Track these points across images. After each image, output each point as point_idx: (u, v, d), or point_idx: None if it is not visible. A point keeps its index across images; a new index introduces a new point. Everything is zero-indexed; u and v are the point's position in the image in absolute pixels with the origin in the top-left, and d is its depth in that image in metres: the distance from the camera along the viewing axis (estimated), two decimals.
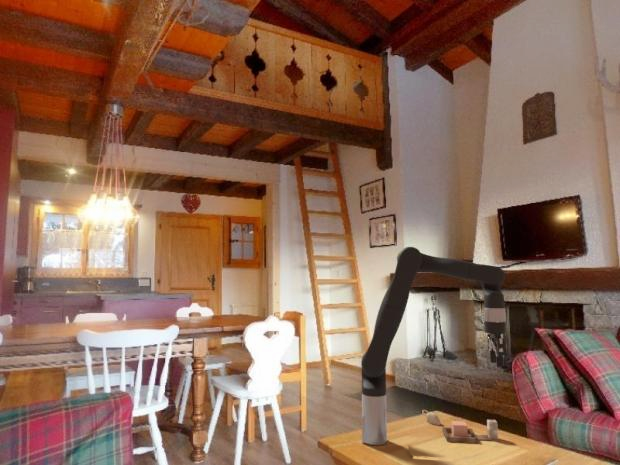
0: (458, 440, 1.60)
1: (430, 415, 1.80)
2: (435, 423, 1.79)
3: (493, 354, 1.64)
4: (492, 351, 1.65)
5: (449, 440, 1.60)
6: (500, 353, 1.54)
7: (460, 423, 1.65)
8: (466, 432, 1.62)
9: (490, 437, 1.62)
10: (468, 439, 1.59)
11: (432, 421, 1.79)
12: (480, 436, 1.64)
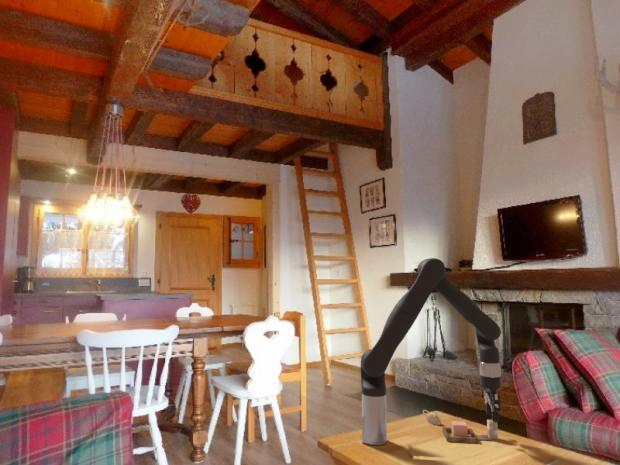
0: (458, 440, 1.60)
1: (431, 415, 1.80)
2: (436, 423, 1.79)
3: (489, 406, 1.68)
4: (488, 403, 1.68)
5: (449, 440, 1.60)
6: (495, 409, 1.58)
7: (460, 423, 1.65)
8: (466, 432, 1.62)
9: (490, 437, 1.62)
10: (468, 439, 1.59)
11: (433, 421, 1.79)
12: (480, 436, 1.64)
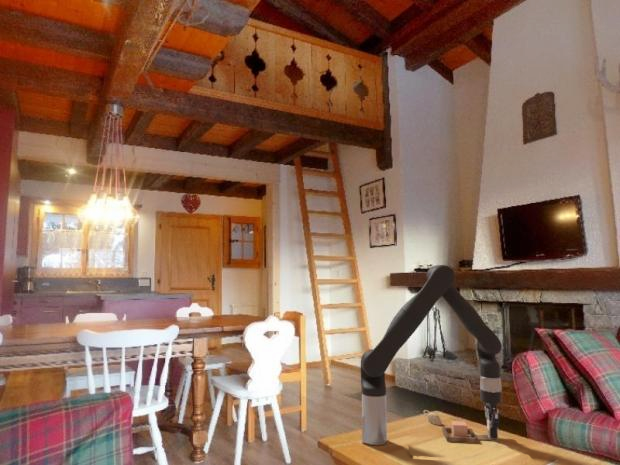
0: (458, 440, 1.60)
1: (431, 415, 1.80)
2: (436, 423, 1.78)
3: None
4: None
5: (449, 440, 1.60)
6: (494, 425, 1.59)
7: (460, 423, 1.65)
8: (466, 432, 1.62)
9: (490, 437, 1.62)
10: (468, 439, 1.59)
11: (433, 421, 1.79)
12: (480, 436, 1.64)
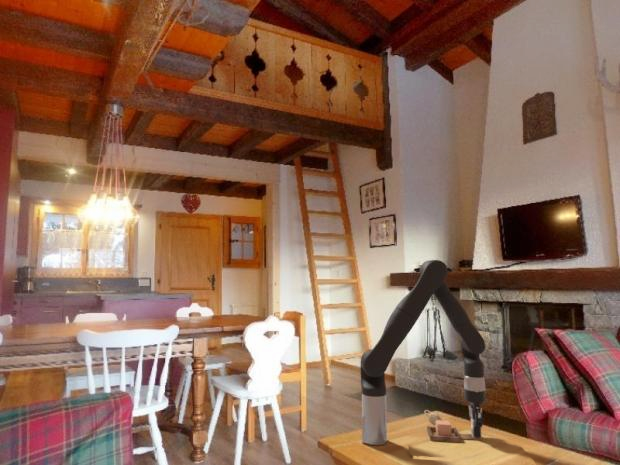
0: (441, 439, 1.60)
1: (432, 415, 1.80)
2: None
3: None
4: None
5: (433, 439, 1.61)
6: (477, 424, 1.60)
7: (444, 422, 1.66)
8: (450, 431, 1.63)
9: (474, 436, 1.63)
10: (451, 438, 1.60)
11: (434, 421, 1.79)
12: (464, 435, 1.65)
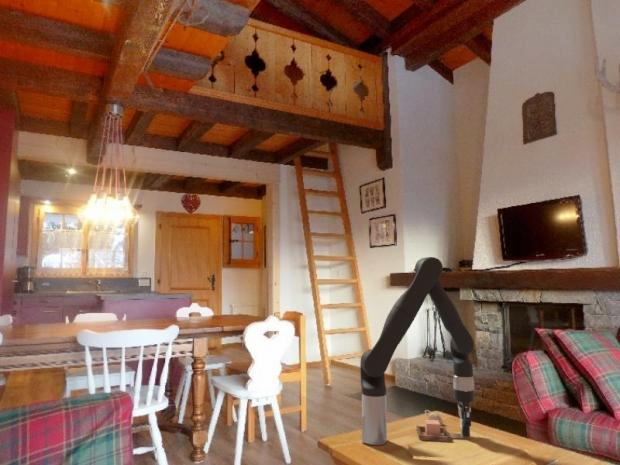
0: (430, 439, 1.61)
1: (432, 415, 1.80)
2: None
3: None
4: None
5: (421, 439, 1.61)
6: (466, 424, 1.61)
7: (433, 421, 1.67)
8: (439, 431, 1.64)
9: (462, 436, 1.63)
10: (440, 438, 1.60)
11: None
12: (453, 435, 1.66)
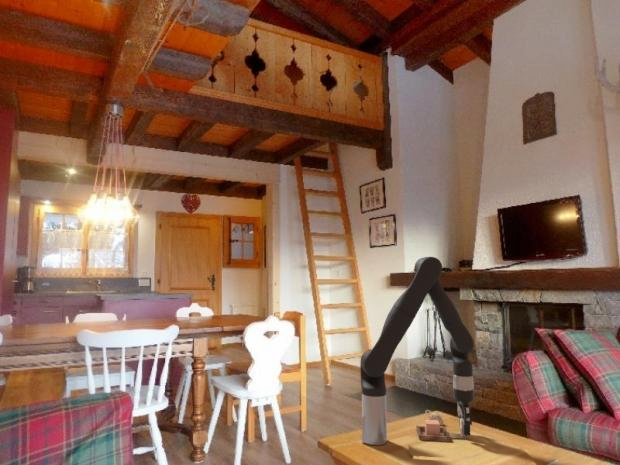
0: (430, 439, 1.61)
1: (433, 415, 1.80)
2: None
3: None
4: None
5: (421, 439, 1.61)
6: (467, 422, 1.58)
7: (433, 421, 1.67)
8: (438, 431, 1.64)
9: (462, 436, 1.63)
10: (440, 438, 1.60)
11: None
12: (453, 435, 1.66)
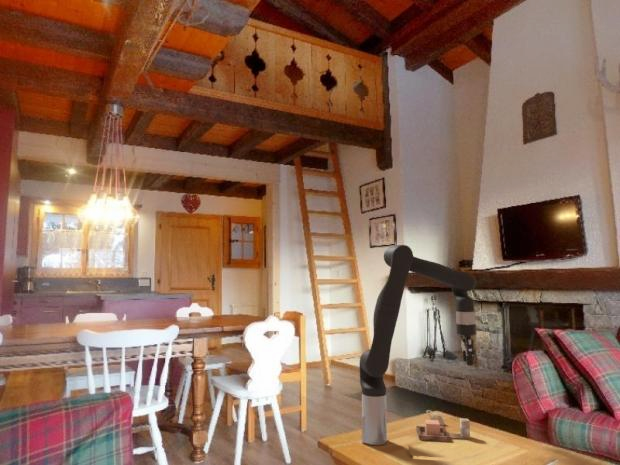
0: (430, 439, 1.61)
1: (434, 415, 1.80)
2: None
3: (465, 353, 1.80)
4: (464, 351, 1.81)
5: (421, 439, 1.61)
6: (469, 353, 1.70)
7: (433, 421, 1.67)
8: (438, 431, 1.64)
9: (462, 436, 1.63)
10: (440, 438, 1.60)
11: None
12: (453, 435, 1.66)
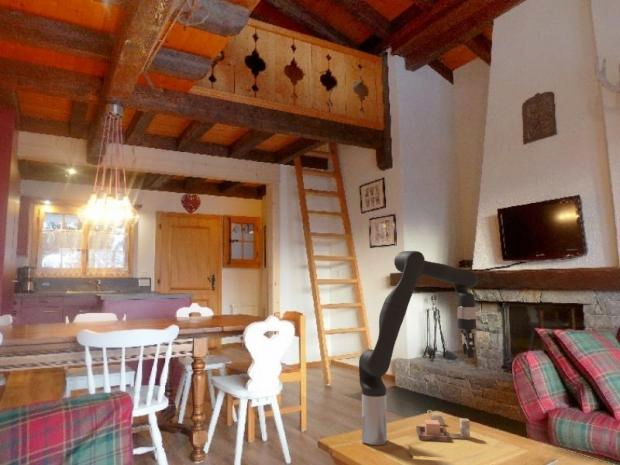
0: (430, 439, 1.61)
1: (434, 415, 1.80)
2: (439, 423, 1.78)
3: (465, 347, 1.89)
4: (465, 344, 1.90)
5: (421, 439, 1.61)
6: (470, 346, 1.79)
7: (433, 421, 1.67)
8: (438, 431, 1.64)
9: (462, 436, 1.63)
10: (440, 438, 1.60)
11: None
12: (453, 435, 1.66)
